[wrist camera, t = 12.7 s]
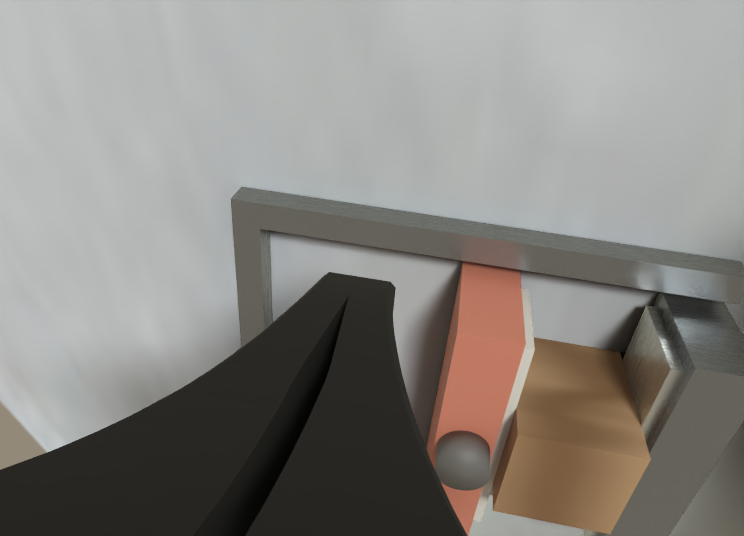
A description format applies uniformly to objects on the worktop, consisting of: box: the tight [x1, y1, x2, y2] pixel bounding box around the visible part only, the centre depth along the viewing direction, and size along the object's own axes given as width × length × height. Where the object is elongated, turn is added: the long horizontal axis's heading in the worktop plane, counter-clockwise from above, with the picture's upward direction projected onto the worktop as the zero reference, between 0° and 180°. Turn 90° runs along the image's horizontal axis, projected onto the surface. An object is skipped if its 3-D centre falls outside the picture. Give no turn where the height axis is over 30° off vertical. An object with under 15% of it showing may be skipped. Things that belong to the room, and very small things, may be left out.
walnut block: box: [493, 338, 651, 534], centre depth 20 cm, size 4×4×5 cm
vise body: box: [231, 187, 744, 536], centre depth 21 cm, size 17×13×4 cm
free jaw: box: [426, 261, 535, 536], centre depth 20 cm, size 2×10×5 cm, turn 176°
